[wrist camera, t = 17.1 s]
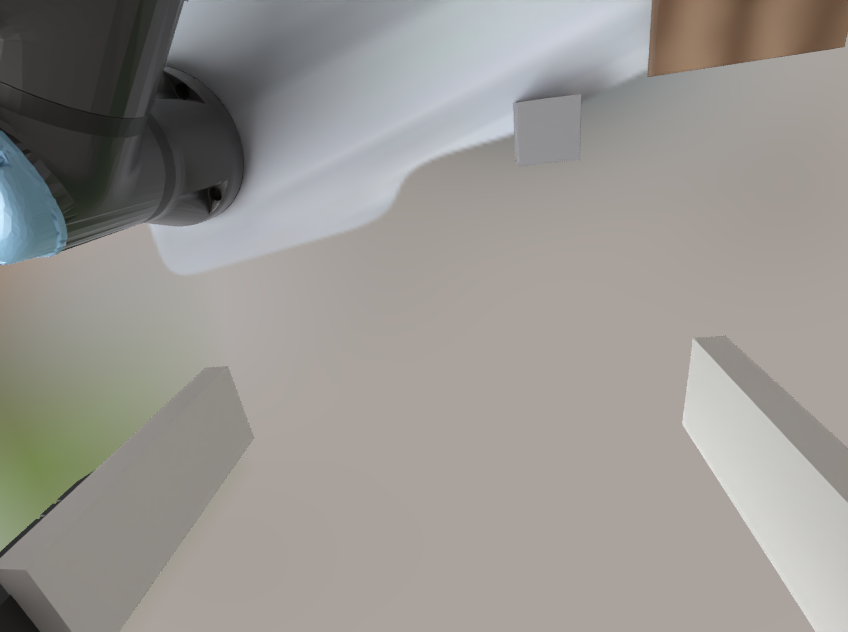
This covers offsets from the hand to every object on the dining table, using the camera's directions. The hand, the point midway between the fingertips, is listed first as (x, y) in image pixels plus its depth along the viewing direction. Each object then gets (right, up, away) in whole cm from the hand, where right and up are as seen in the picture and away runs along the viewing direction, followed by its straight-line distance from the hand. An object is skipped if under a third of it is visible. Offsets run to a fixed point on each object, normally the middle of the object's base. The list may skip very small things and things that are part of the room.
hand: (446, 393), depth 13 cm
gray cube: (+10, +20, +28) cm, 36 cm away
